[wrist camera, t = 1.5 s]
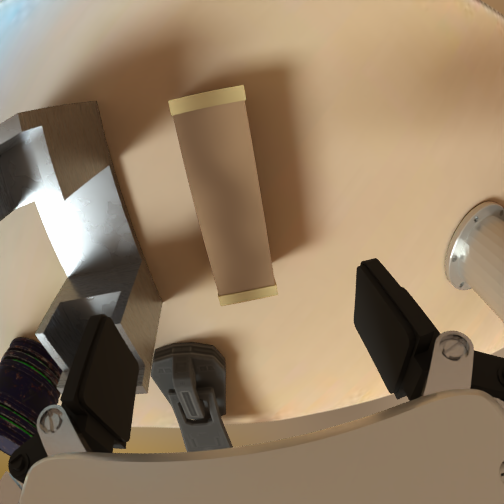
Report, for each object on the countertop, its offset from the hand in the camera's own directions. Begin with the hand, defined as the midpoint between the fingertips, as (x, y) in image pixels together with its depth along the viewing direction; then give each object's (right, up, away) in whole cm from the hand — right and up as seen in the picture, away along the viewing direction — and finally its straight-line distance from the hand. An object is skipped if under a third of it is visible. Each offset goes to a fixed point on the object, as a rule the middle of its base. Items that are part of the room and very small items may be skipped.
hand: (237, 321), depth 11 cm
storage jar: (-30, -13, +22) cm, 39 cm away
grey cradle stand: (-14, +5, +13) cm, 20 cm away
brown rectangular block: (-1, +8, +14) cm, 16 cm away
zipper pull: (-7, -18, +28) cm, 34 cm away
